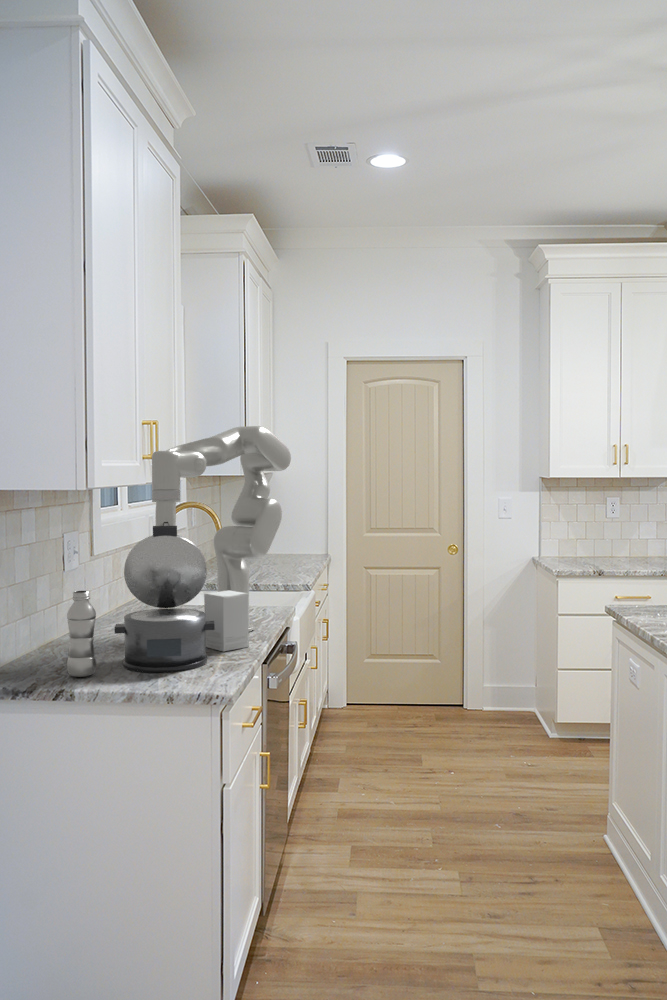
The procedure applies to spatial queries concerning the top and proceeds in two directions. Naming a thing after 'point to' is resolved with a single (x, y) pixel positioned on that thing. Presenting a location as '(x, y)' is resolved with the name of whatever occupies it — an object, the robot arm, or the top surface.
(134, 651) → the pressure cooker
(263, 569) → the top surface
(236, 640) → the supplement box
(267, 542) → the robot arm
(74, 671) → the plastic bottle
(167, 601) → the lid
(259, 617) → the top surface
